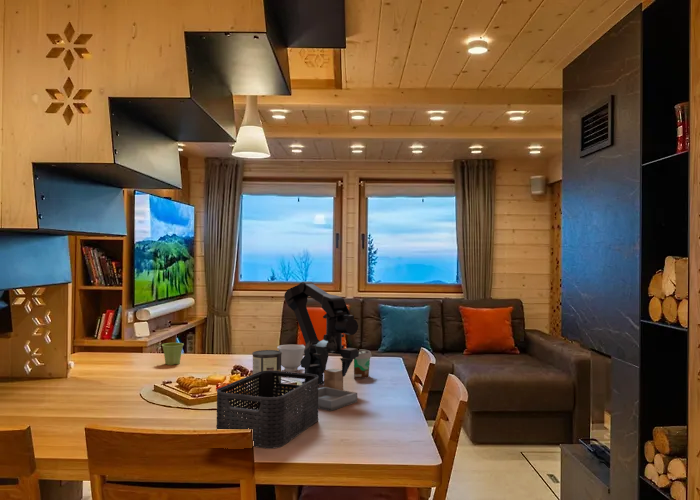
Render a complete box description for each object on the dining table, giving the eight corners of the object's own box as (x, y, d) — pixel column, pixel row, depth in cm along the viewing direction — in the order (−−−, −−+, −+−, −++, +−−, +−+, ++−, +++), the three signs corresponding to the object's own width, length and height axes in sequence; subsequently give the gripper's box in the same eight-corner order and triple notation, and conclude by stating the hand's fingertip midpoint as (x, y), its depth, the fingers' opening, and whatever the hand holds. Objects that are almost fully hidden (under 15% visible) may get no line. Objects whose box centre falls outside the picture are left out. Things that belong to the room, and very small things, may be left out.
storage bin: (277, 451, 138) (277, 396, 138) (210, 441, 144) (211, 389, 144) (322, 419, 165) (322, 374, 165) (264, 413, 171) (264, 369, 171)
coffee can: (268, 387, 204) (269, 348, 204) (287, 392, 197) (287, 352, 197) (245, 392, 197) (246, 352, 197) (264, 397, 190) (264, 355, 190)
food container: (368, 380, 218) (369, 354, 218) (353, 379, 219) (353, 353, 219) (373, 373, 230) (373, 349, 230) (359, 373, 231) (359, 348, 231)
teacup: (314, 368, 239) (315, 345, 240) (293, 374, 227) (293, 349, 227) (292, 365, 246) (293, 342, 246) (270, 370, 233) (271, 347, 234)
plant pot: (179, 366, 242) (180, 346, 242) (158, 365, 242) (158, 345, 242) (186, 362, 251) (186, 342, 251) (165, 361, 251) (165, 342, 252)
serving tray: (297, 403, 182) (297, 394, 182) (324, 395, 193) (324, 386, 193) (331, 410, 173) (331, 401, 173) (357, 401, 185) (357, 392, 185)
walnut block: (323, 389, 202) (324, 370, 202) (332, 387, 206) (332, 368, 206) (334, 391, 199) (334, 372, 199) (343, 389, 203) (343, 369, 203)
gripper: (300, 331, 201) (299, 374, 201) (341, 336, 190) (340, 382, 190) (319, 328, 210) (319, 369, 210) (359, 333, 199) (359, 376, 199)
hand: (333, 374), depth 202 cm, fingers open, 9 cm apart
